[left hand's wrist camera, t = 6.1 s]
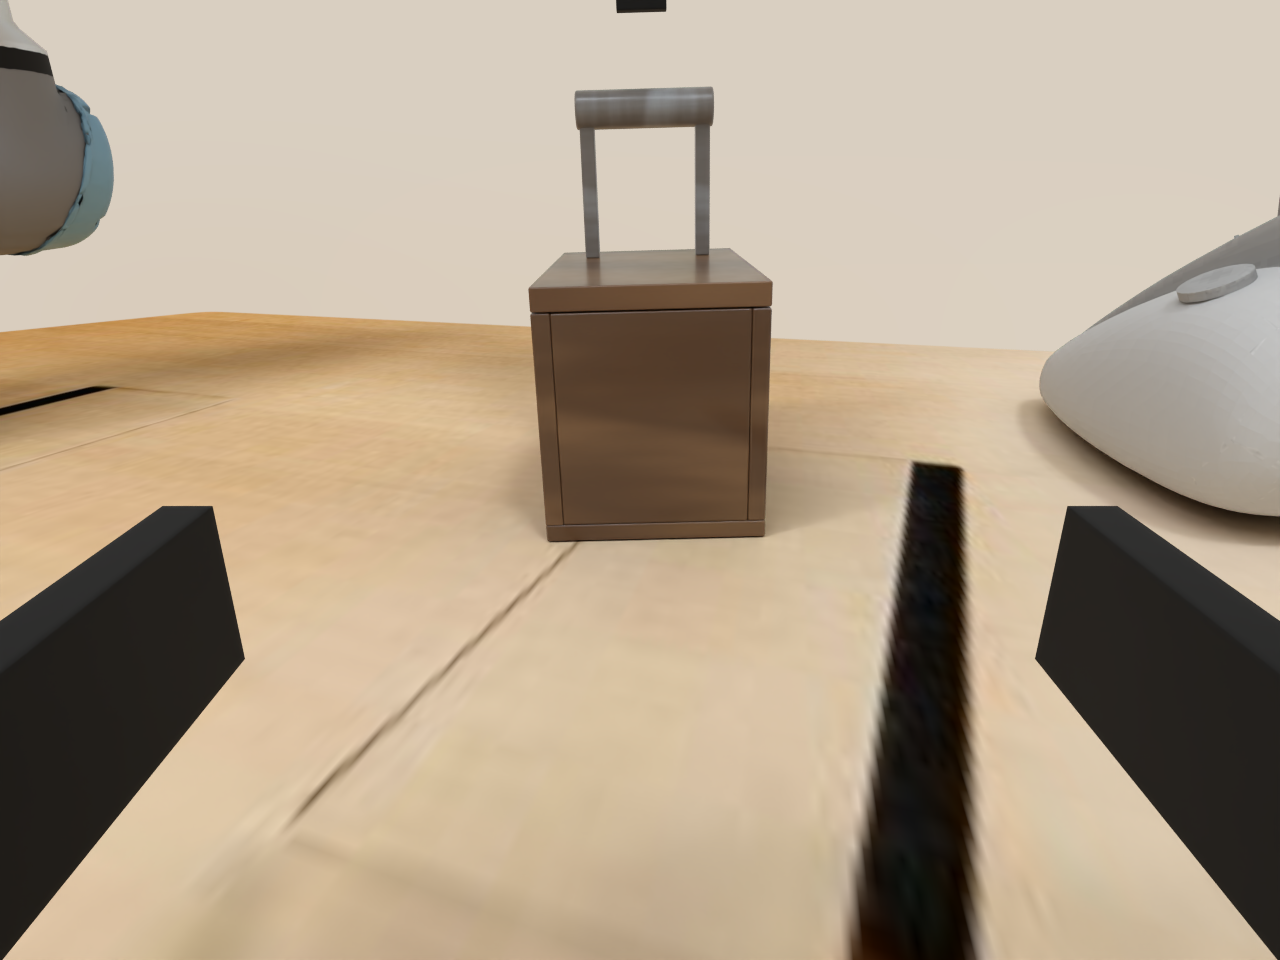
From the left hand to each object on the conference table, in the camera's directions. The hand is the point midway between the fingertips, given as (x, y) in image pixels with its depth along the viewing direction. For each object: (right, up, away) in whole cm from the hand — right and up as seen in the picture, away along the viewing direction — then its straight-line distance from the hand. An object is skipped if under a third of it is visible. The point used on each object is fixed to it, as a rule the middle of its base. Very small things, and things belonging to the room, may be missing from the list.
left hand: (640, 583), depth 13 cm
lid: (0, +11, +26) cm, 28 cm away
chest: (+1, +2, +29) cm, 29 cm away
